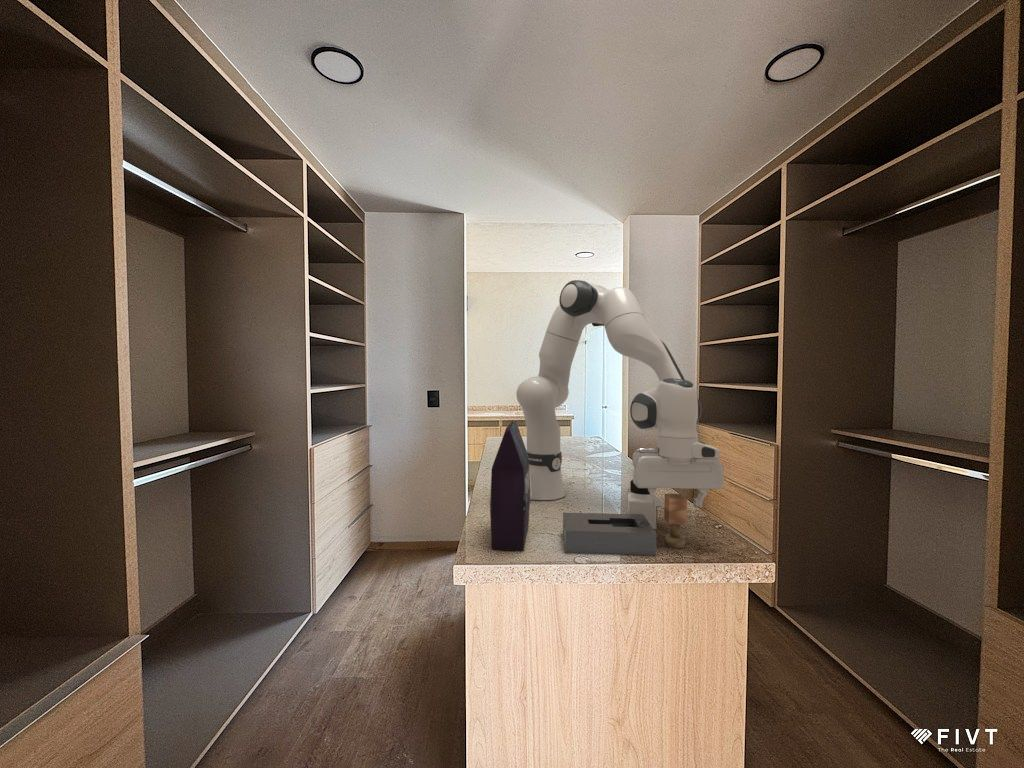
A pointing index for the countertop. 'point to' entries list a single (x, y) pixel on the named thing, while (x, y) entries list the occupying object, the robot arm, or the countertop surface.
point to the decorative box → (510, 492)
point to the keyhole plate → (608, 534)
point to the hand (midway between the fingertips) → (677, 506)
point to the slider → (675, 519)
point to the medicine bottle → (641, 504)
